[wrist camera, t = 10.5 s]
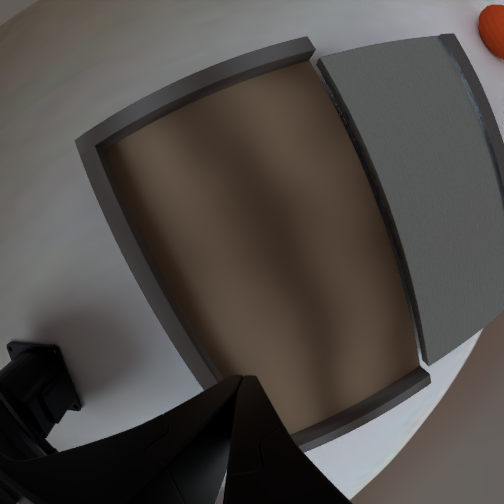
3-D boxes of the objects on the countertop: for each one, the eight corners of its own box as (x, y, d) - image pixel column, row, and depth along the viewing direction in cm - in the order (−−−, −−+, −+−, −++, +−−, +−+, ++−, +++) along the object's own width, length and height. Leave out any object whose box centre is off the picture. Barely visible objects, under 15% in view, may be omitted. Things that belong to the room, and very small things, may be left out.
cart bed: (259, 433, 21) (264, 466, 17) (102, 150, 17) (74, 140, 13) (406, 360, 21) (430, 383, 18) (292, 64, 17) (307, 36, 13)
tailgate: (430, 368, 17) (526, 292, 17) (321, 55, 13) (453, 33, 12) (420, 358, 19) (515, 287, 18) (315, 66, 15) (443, 40, 14)
